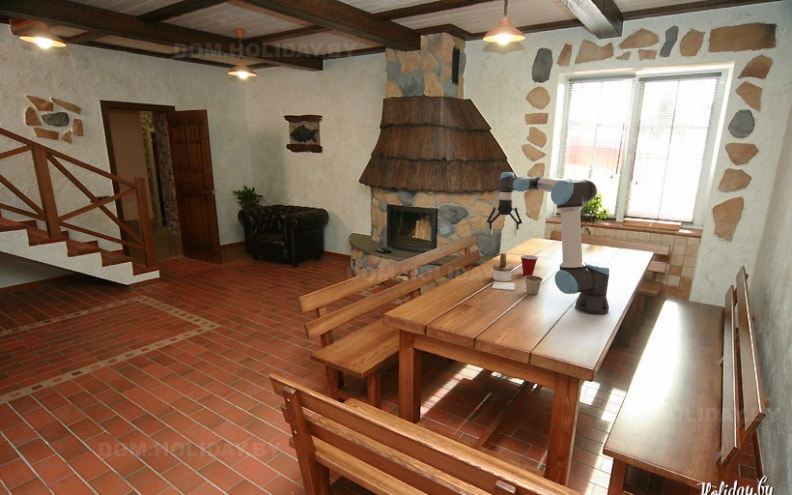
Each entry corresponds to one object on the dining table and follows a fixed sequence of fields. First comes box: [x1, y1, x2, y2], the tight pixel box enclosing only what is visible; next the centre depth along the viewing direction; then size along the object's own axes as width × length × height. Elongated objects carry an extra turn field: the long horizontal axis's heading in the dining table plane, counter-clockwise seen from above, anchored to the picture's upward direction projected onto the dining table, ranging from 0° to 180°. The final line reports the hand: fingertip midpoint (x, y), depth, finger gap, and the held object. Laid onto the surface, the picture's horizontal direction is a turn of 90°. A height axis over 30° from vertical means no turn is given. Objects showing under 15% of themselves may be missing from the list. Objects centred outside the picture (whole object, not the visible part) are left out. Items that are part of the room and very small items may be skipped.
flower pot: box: [524, 275, 544, 296], centre depth 229 cm, size 9×9×9 cm
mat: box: [491, 280, 516, 291], centre depth 241 cm, size 12×12×1 cm
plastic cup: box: [520, 254, 539, 277], centre depth 262 cm, size 11×11×12 cm
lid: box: [492, 252, 514, 272], centre depth 252 cm, size 12×12×9 cm
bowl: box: [492, 269, 512, 282], centre depth 254 cm, size 10×10×6 cm
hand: (503, 234), depth 248 cm, fingers open, 13 cm apart
